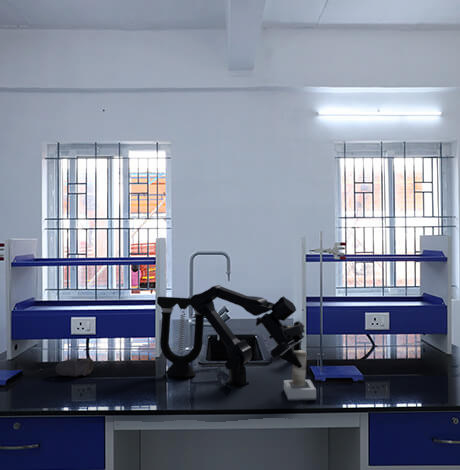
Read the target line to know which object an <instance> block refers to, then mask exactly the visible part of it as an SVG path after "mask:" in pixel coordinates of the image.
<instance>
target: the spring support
mask: <svg viewBox="0 0 460 470" xmlns="http://www.w3.org/2000/svg"><path fill="white" fill-rule="evenodd" d="M190 302H191V297H175V296H157V299H156V304H157V305H158V306H159V307H160V309H161V311H160V313H161V327H160V328H161V329H160V341H159V343H160V344H159V345H160V350H161V353H162V355H163V356H164V357H165V359H167V360H168V361H169V362H170V363H172V364H171V365H170V367H168V369H166V371H165V372H164V374H165V375H166V376H170V377H176V378H177V377H178V378H179V377H180V378H182V377H183V378H186V377H194V376H196V375H197V374H196V371H194V369H193V368H192V366H191V365H190V364H191V363H192V362H194V361H196V360H197V358H198V357H199V356H200V354H201V351H202V348H203V338H204V321H205V317H204V316H203V315H201V314H199V313H198V312H197V311H196V310H195V309H194V308H193V307H192V306H191V304H190ZM176 305H177V306H178V308H179V309H180V310H181V313H182V314H180V318H179V325H180V326H179V334H178V336H179V337H178V338H179V339H178V340H179V341H178V350H177V351H178V354H176V353H174V352H173V351H172V349H171V348H170V343H169V342H170V331H171V329H170V328H171V315H172V313H173V310H174V307H176ZM189 306H191V308H192V309H193V311H194V317H195V320H194V337H193V347H192V349H191V351H189V353H187V354H185V355H183V353H184V341H185V340H184V337H185V324H186V323H185V322H186V321H185V319H186V313H185V312H186V309H187V308H189Z"/></svg>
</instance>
